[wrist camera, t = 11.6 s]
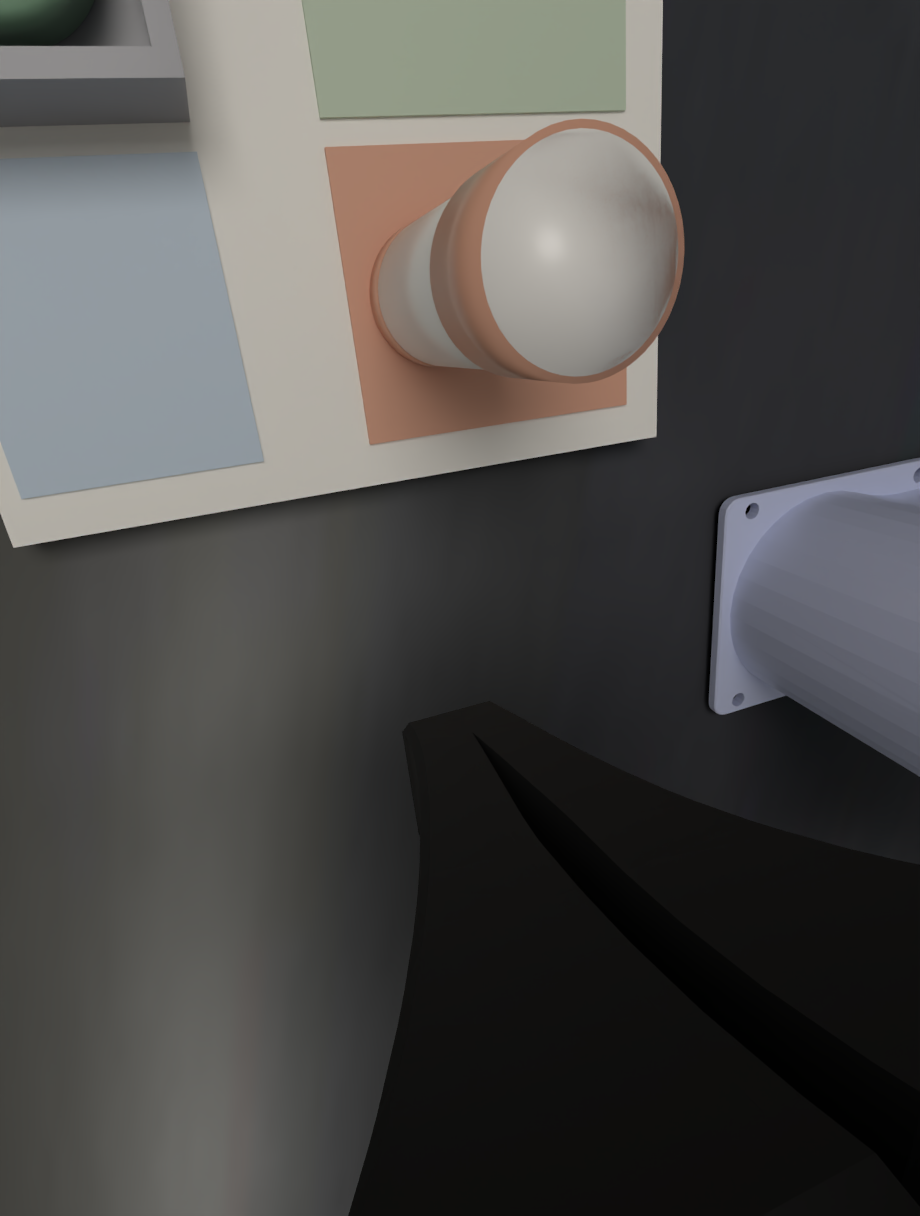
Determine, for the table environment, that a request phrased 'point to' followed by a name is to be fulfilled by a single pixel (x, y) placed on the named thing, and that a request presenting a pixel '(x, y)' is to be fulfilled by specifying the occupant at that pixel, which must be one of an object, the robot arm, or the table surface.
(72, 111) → the button housing
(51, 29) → the button
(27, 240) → the board
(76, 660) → the table surface
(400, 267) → the orange and grey cylinder
